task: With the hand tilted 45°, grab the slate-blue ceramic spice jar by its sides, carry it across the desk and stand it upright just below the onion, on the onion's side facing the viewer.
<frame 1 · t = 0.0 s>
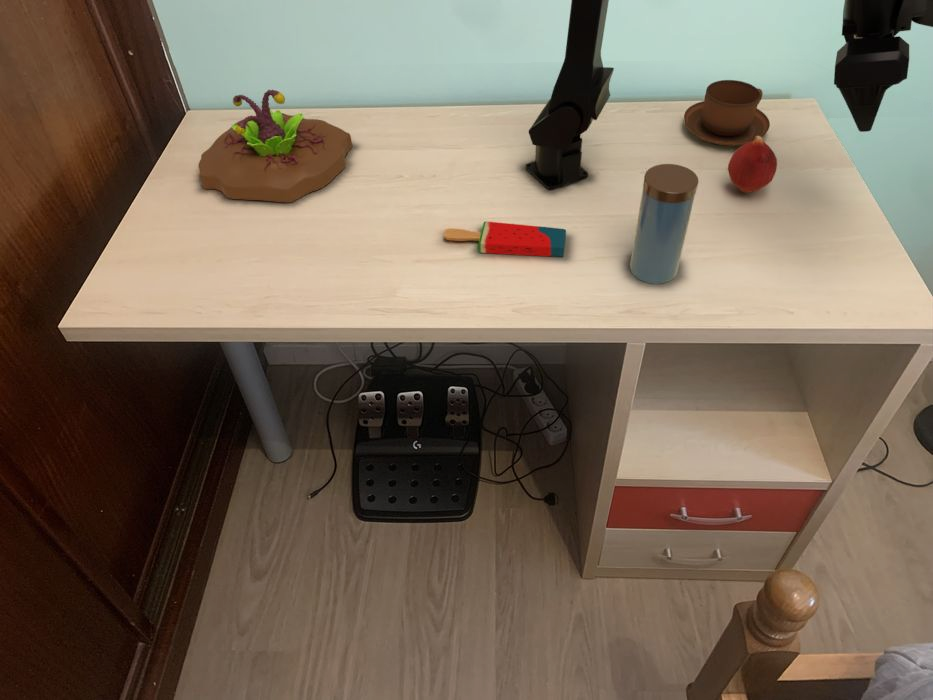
hand: (866, 110, 80), 15 cm above the table, tool pointing down, fingers open, 9 cm apart
plant: (279, 164, 105), on the table
popsicle: (503, 244, 91), on the table
cup and saucer: (723, 132, 108), on the table
spice jar: (653, 268, 87), on the table
onion: (744, 192, 97), on the table
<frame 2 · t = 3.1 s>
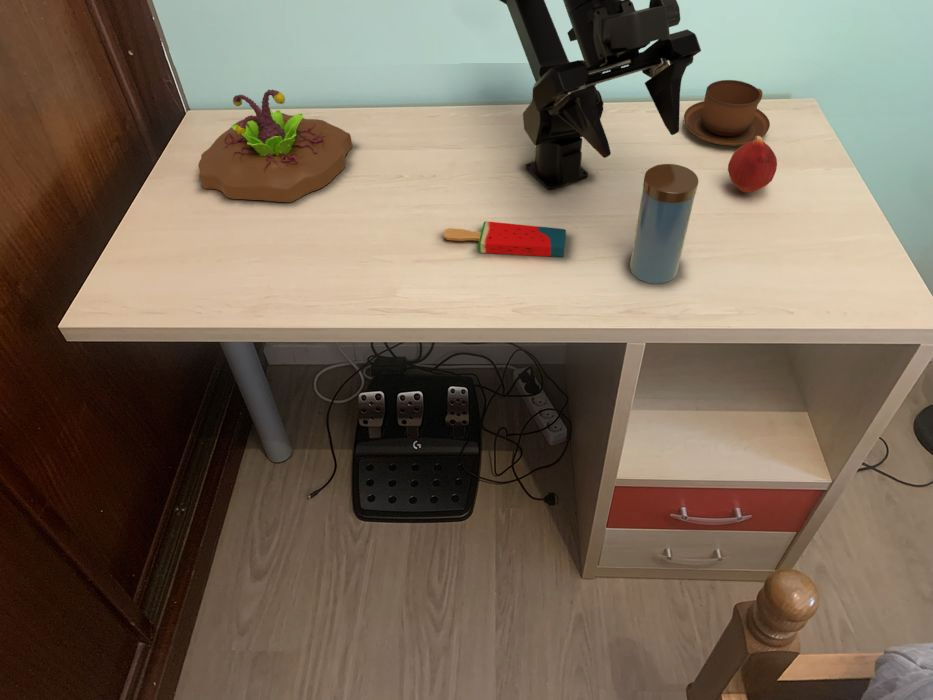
hand: (641, 144, 81), 14 cm above the table, tool tilted 45°, fingers open, 9 cm apart
nothing on the table moved.
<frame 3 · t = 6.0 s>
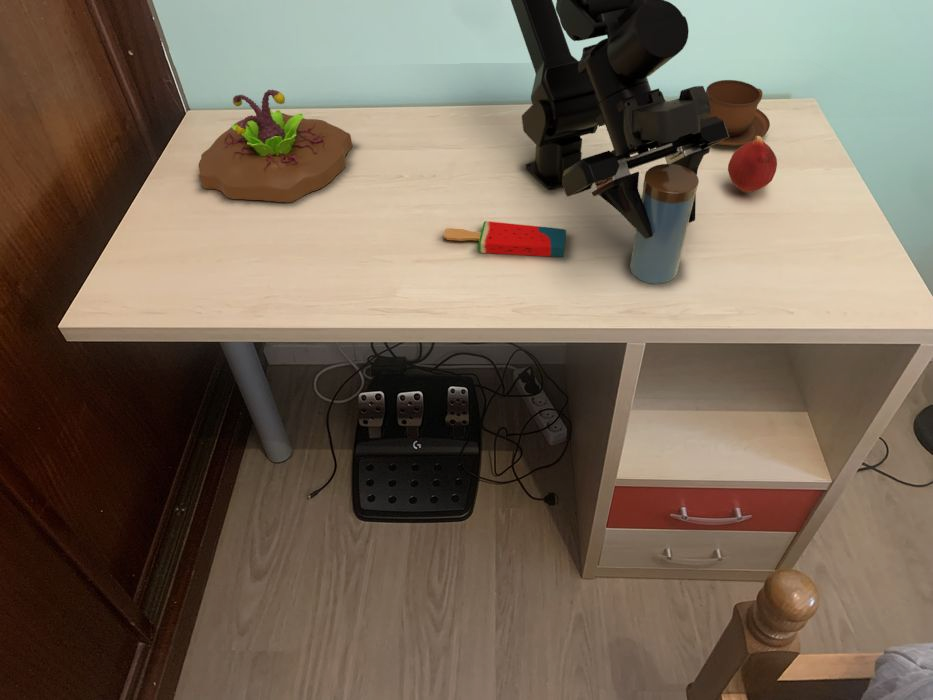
hand: (670, 229, 81), 7 cm above the table, tool tilted 45°, fingers closed on spice jar, 5 cm apart
spice jar: (653, 268, 87), on the table, touching gripper
everything else where it was.
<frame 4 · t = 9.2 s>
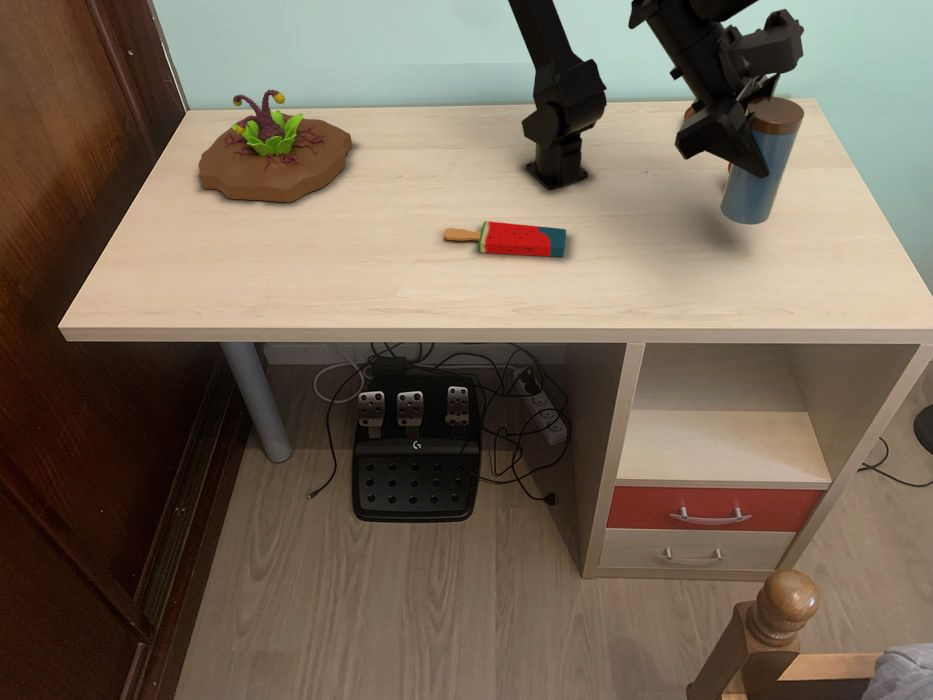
hand: (773, 163, 79), 13 cm above the table, tool tilted 45°, fingers closed on spice jar, 5 cm apart
spice jar: (744, 210, 84), point 6 cm above the table, touching gripper
everything else where it was.
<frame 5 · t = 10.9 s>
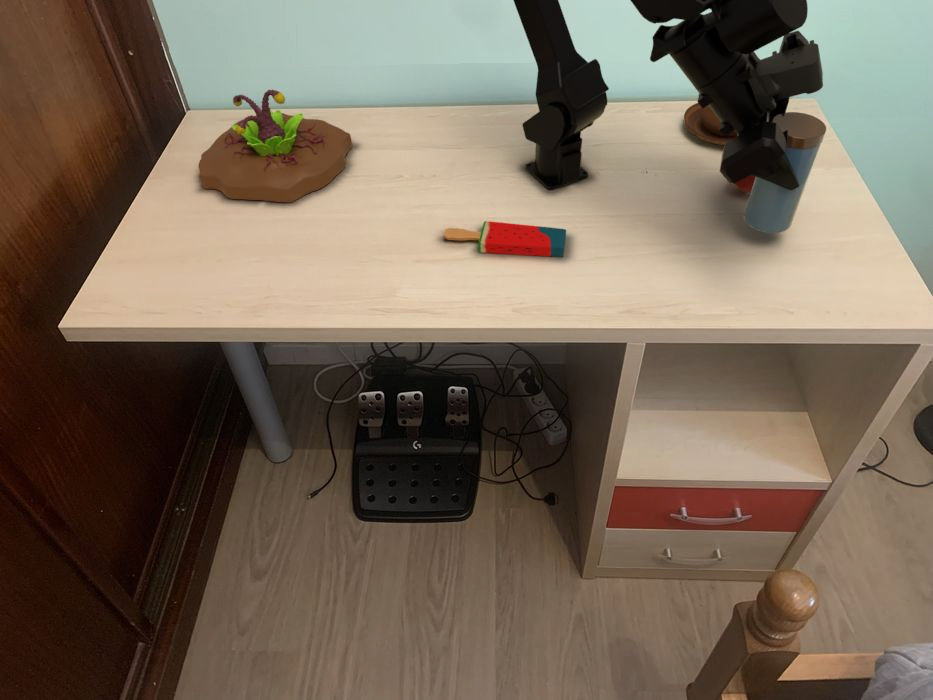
hand: (795, 173, 83), 9 cm above the table, tool tilted 45°, fingers closed on spice jar, 5 cm apart
spice jar: (767, 219, 88), point 3 cm above the table, touching gripper
everything else where it was.
when the fingers open (7 cm above the table, at t = 12.3 s): spice jar stays where it is, on the table.
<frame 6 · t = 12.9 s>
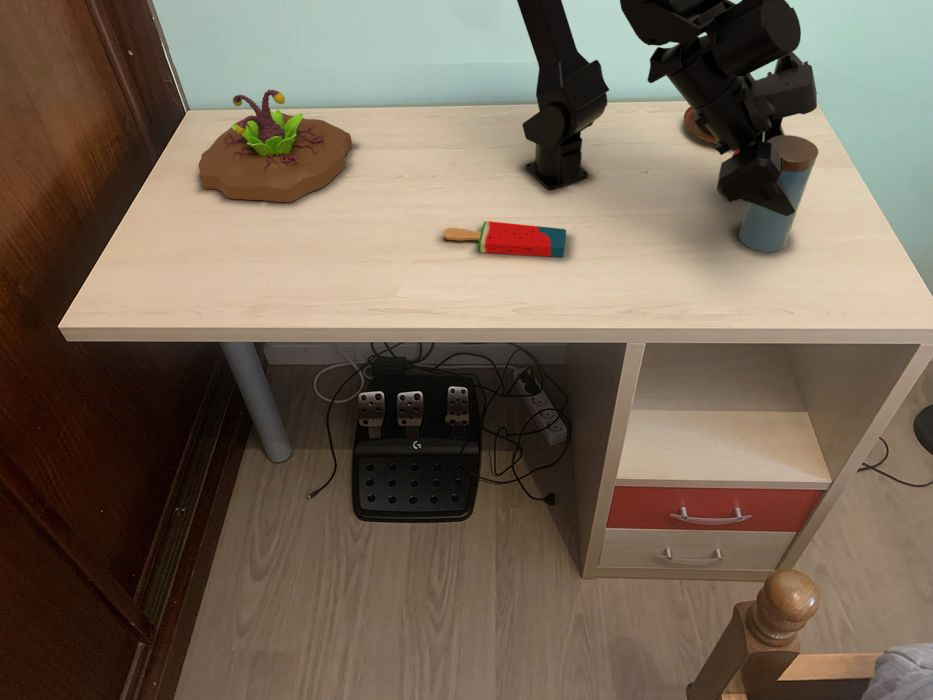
hand: (791, 190, 85), 7 cm above the table, tool tilted 45°, fingers open, 9 cm apart
spice jar: (762, 238, 90), on the table
everything else where it was.
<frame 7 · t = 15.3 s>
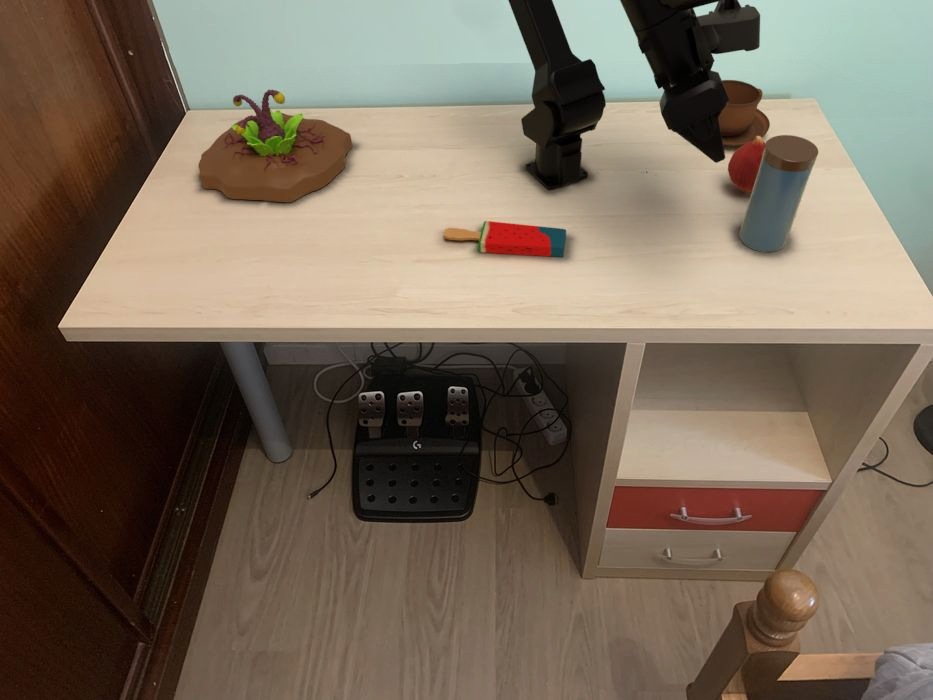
hand: (715, 144, 82), 12 cm above the table, tool tilted 35°, fingers open, 9 cm apart
nothing on the table moved.
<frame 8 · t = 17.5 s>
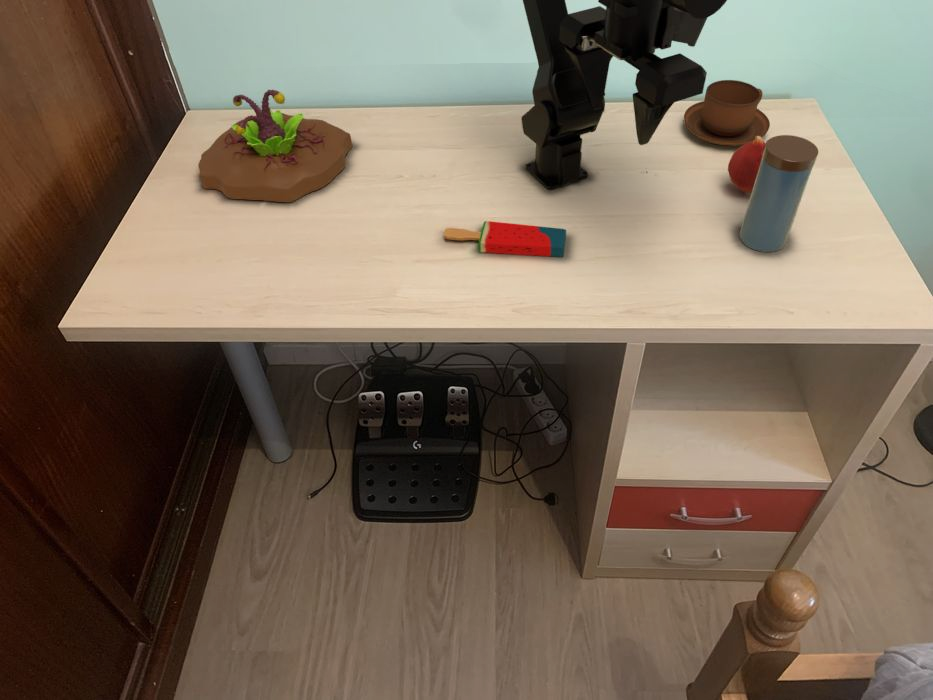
hand: (619, 125, 85), 13 cm above the table, tool pointing down, fingers open, 9 cm apart
nothing on the table moved.
at the end: spice jar 0.1 cm from the target spot, on the table; spice jar 10.1 cm from the onion (horizontally); spice jar tilted 0° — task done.
